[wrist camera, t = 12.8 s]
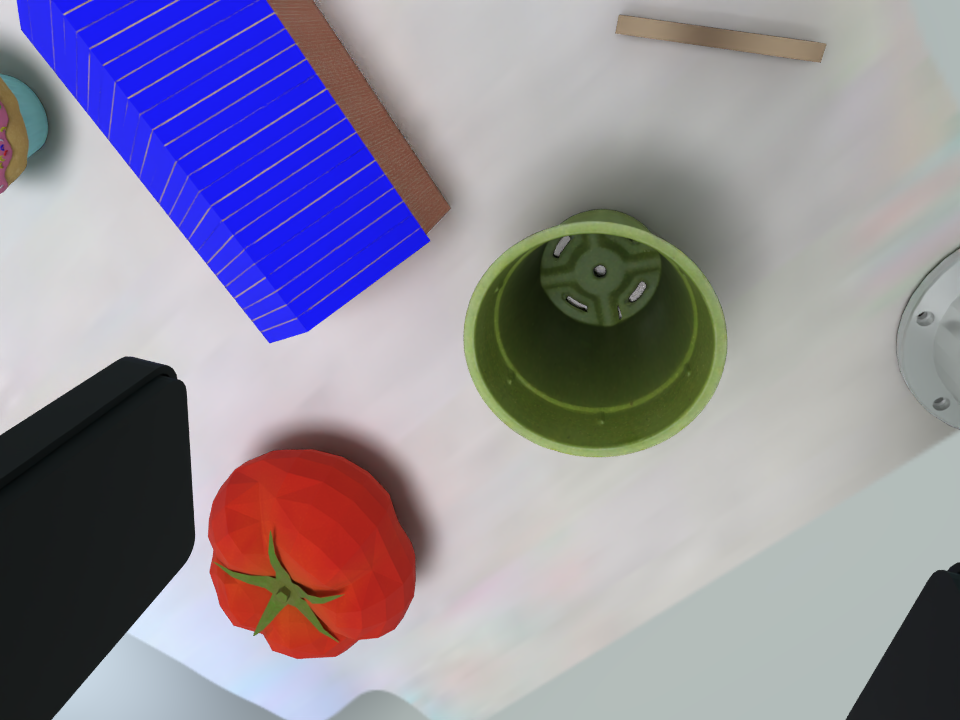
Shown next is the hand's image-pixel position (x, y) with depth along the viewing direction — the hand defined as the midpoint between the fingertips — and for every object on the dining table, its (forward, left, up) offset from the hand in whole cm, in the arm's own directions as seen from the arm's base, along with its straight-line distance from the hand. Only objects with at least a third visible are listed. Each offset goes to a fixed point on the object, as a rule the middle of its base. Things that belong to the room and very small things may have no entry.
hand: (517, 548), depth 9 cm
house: (+19, +2, -34) cm, 39 cm away
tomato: (+15, +31, -34) cm, 48 cm away
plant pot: (-1, +8, -34) cm, 35 cm away
